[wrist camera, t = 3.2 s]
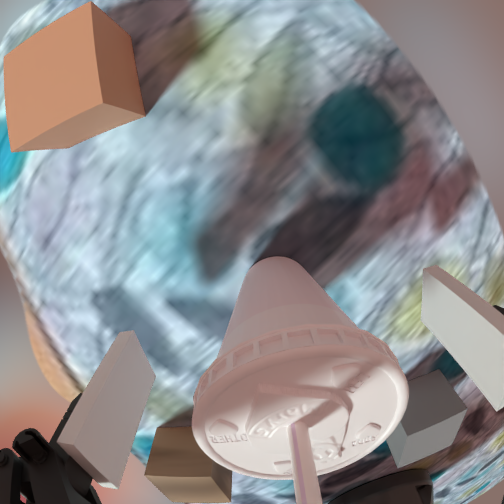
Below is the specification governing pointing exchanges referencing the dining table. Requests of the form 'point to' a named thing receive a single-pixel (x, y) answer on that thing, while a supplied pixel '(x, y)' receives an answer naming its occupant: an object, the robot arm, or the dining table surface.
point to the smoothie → (295, 384)
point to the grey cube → (427, 419)
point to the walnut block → (186, 469)
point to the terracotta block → (71, 82)
